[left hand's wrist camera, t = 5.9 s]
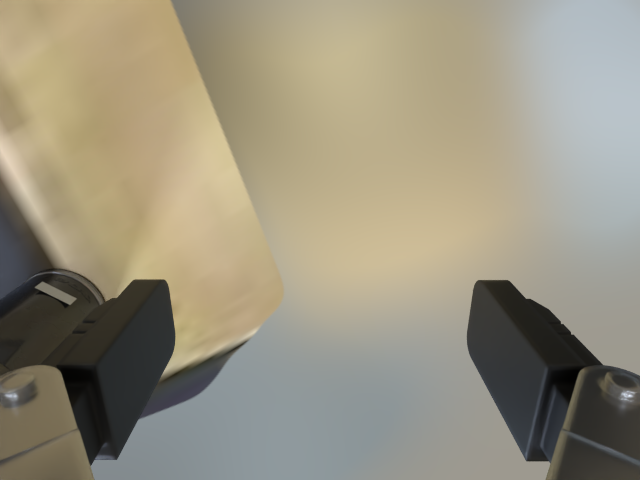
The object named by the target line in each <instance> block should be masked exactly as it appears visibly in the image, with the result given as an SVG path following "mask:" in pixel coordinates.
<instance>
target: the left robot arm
mask: <svg viewBox="0 0 640 480" xmlns="http://www.w3.org/2000/svg"><path fill="white" fill-rule="evenodd" d="M467 345H468V350H469V354H470V356H471V358H472V360H473V362H474V364H475V366H476V368H477V370H478V372H479V374H480V375H481V377H482V379H483V381H484V383H485V385H486V387H487V388H488V390H489V392H490V394H491V396H492V398H493V400H494V402H495V403H496V405H497V407H498V409H499V411H500V413H501V415H502V416H503V418H504V420H505V422H506V424H507V426H508V428H509V430H510V431H511V433H512V435H513V437H514V439H515V441H516V443H517V445H518V446H519V448H520V450H521V452H522V454H523V456H524V458H525V460H526V461H549V462H550V467H549V470H548V474H547V477H546V480H640V376H639V375H637V374H635V373H632V372H630V371H627V370H624V369H620V368H616V367H612V366H605V365H603V364H602V363H601V362H600V361H599V360H598V359H597V358H596V357H595V356H594V355H593V354H592V353H591V352H590V351H589V350H588V349H587V348H586V347H585V346H584V345H583V344H582V343H581V342H580V341H579V340H578V339H577V338H576V337H575V336H574V335H571V332H570V331H569V330H568V329H567V328H566V327H565V326H564V324H561V321H560V320H559V319H558V318H557V317H556V316H555V315H554V314H553V313H552V312H551V311H550V310H549V309H547V308H545V307H544V306H542V305H540V304H538V303H537V302H535V301H533V300H531V299H526V298H525V297H524V296H523V295H522V294H521V293H520V292H519V291H518V290H517V289H516V288H515V286H514V285H513V284H512V283H511V282H510V281H508V280H478V281H477V282H476V283H475V285H474V289H473V296H472V302H471V309H470V316H469V323H468V330H467ZM174 346H175V328H174V321H173V314H172V307H171V300H170V293H169V287H168V284H167V282H166V281H165V280H133V281H132V282H131V283H130V284H129V285H128V286H127V288H126V289H125V290H124V291H123V292H122V293H121V294H120V295H119V296H118V297H117V298H112V299H110V300H108V301H107V302H105V303H104V300H103V298H102V296H101V294H100V293H99V291H98V290H97V289H96V288H95V287H94V286H93V285H92V284H91V283H90V282H89V281H88V280H86V279H85V278H83V277H82V276H80V275H78V274H75V273H73V272H70V271H66V270H59V269H51V270H45V271H41V272H39V273H37V274H35V275H33V276H32V277H30V278H29V279H28V280H26V281H25V282H24V283H23V284H22V285H21V286H19V287H18V288H17V289H15V290H14V291H12V292H11V293H9V294H8V295H6V296H5V297H3V298H2V299H1V300H0V480H94V477H93V474H92V470H91V467H90V466H91V465H92V463H93V461H94V460H117V458H118V457H119V455H120V453H121V451H122V449H123V447H124V445H125V443H126V442H127V440H128V438H129V436H130V434H131V432H132V430H133V428H134V426H135V424H136V423H137V421H138V419H139V417H140V415H141V413H142V411H143V409H144V407H145V406H146V404H147V402H148V400H149V398H150V396H151V394H152V392H153V390H154V389H155V387H156V385H157V383H158V381H159V379H160V377H161V375H162V373H163V371H164V370H165V368H166V366H167V364H168V362H169V360H170V358H171V356H172V354H173V351H174Z"/></svg>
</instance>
